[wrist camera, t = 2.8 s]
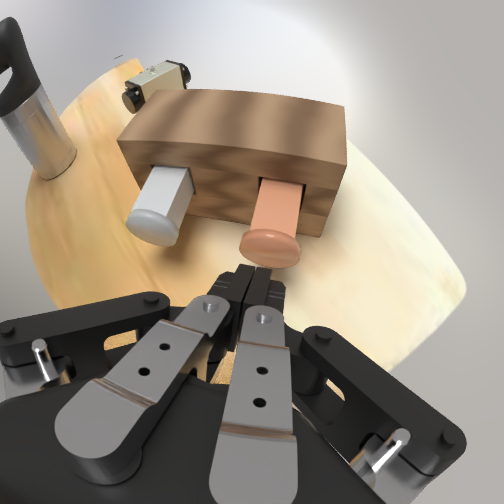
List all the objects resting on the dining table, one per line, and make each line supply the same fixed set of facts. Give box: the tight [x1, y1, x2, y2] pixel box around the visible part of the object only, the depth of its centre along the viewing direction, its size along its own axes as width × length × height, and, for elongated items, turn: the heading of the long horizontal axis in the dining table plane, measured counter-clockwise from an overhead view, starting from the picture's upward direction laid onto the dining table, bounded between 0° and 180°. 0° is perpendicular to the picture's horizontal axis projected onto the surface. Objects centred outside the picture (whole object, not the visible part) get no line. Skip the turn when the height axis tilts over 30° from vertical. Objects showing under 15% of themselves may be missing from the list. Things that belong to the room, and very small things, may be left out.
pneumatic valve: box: [122, 60, 191, 114], centre depth 40 cm, size 6×12×12 cm, turn 138°
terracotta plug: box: [239, 177, 303, 268], centre depth 28 cm, size 6×11×6 cm, turn 168°
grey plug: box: [126, 165, 195, 247], centre depth 29 cm, size 6×11×6 cm, turn 168°
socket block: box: [117, 89, 347, 237], centre depth 32 cm, size 23×10×13 cm, turn 78°
